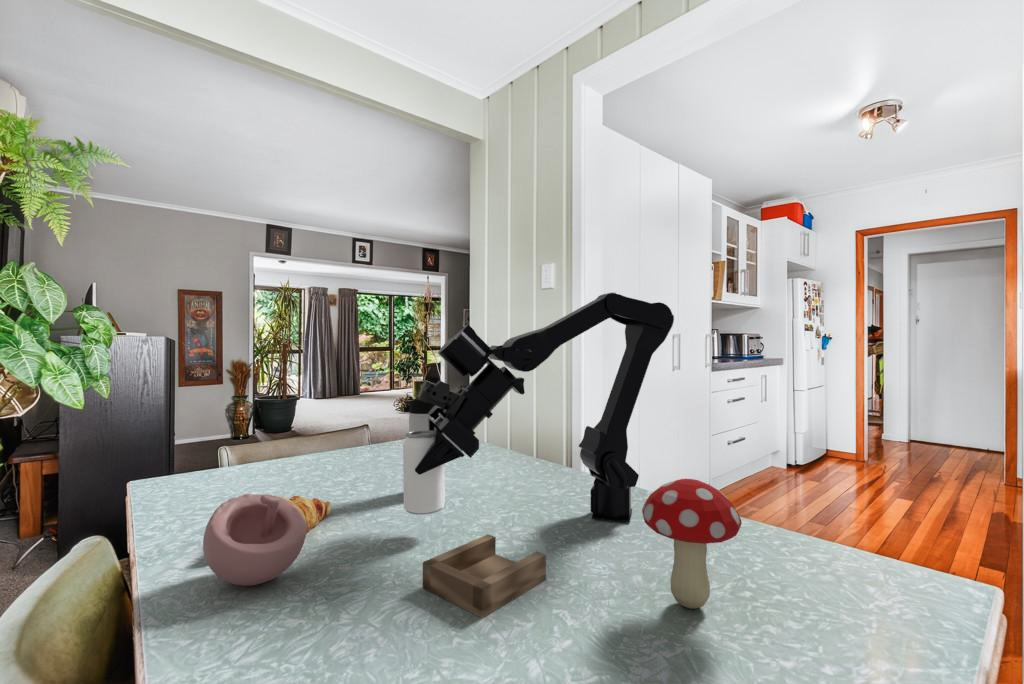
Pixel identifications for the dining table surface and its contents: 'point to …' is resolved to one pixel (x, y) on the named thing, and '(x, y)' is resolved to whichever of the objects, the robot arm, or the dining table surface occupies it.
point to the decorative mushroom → (691, 532)
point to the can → (421, 476)
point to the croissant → (311, 509)
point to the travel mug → (419, 415)
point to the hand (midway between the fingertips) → (415, 467)
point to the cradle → (481, 576)
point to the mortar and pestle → (253, 538)
